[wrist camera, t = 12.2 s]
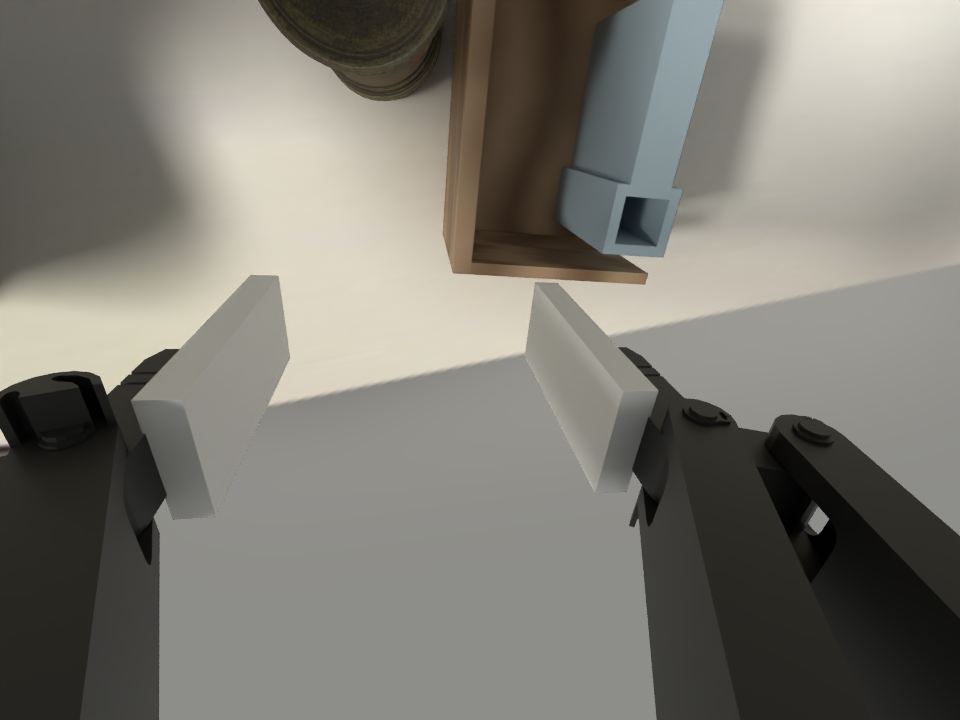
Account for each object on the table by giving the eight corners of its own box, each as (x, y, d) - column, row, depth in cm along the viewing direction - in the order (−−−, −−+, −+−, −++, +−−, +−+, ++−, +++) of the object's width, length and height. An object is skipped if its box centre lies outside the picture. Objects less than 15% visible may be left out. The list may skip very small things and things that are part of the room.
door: (553, 219, 40) (602, 253, 29) (585, 22, 33) (664, -24, 23) (601, 222, 41) (665, 257, 30) (642, 30, 34) (744, -10, 23)
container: (356, 119, 35) (309, 117, 19) (291, -17, 31) (163, -161, 15) (459, 71, 34) (497, 29, 19) (408, -75, 30) (402, -289, 14)
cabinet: (442, 233, 40) (452, 273, 30) (459, -37, 31) (481, -116, 21) (588, 244, 42) (645, 284, 32) (641, -5, 34) (743, -63, 23)
